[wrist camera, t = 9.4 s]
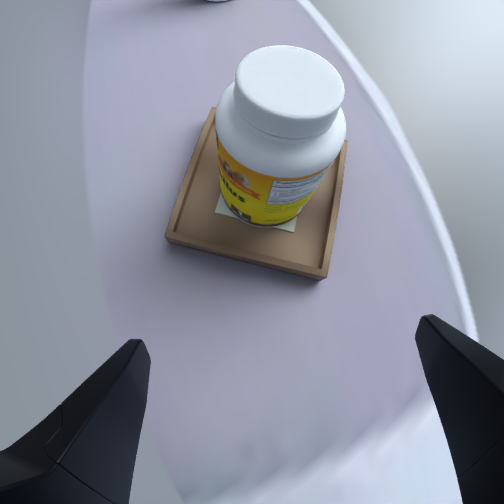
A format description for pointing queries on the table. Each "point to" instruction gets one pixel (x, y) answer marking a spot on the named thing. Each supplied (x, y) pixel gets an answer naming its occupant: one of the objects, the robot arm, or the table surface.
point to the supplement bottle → (278, 133)
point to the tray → (248, 236)
